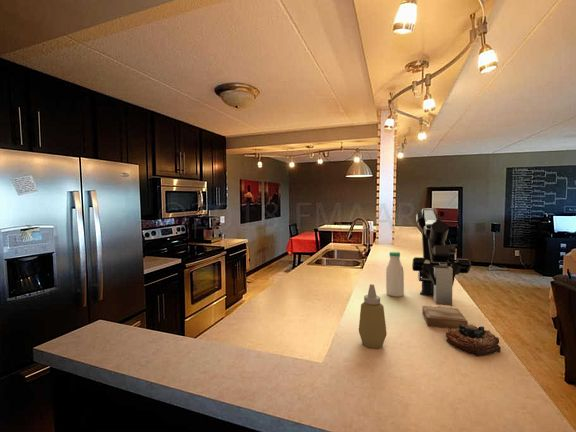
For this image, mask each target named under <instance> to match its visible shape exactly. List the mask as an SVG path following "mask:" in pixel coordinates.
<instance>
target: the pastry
mask: <svg viewBox="0 0 576 432" xmlns="http://www.w3.org/2000/svg"><path fill="white" fill-rule="evenodd" d="M445 337H446V343H448V344H449V345H450V346H452V347H454V348H456V349H458V350H460V351H462V352H464V353H467V354H469V355H472V356H475V357H476V358H477V357H483V356H484V357H485V356H488V355H492V354H496V353H501V349H502V348H501V346H500V345H499V344H500V338H499V337H498V336H496V335H495V334H493V333H492V332H491V331H490V330H488V329H485V327H484V326H481V325H480V326H479V327H477V326H476V325H473V324H468V325H467V326H463V325H459V328H457V329H455V328H453V329H450V328H449V330H447V331H446V333H445ZM495 352H496V353H495Z"/></svg>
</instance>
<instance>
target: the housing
mask: <svg viewBox="0 0 576 432" xmlns="http://www.w3.org/2000/svg"><path fill="white" fill-rule="evenodd" d="M434 277H435V281H436V285H434V296H433V302H434V303H435V305H439V306H449V307H453V287H452V282H453V269H452V268H451V267H450V266H447V263H439V265H434Z"/></svg>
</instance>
